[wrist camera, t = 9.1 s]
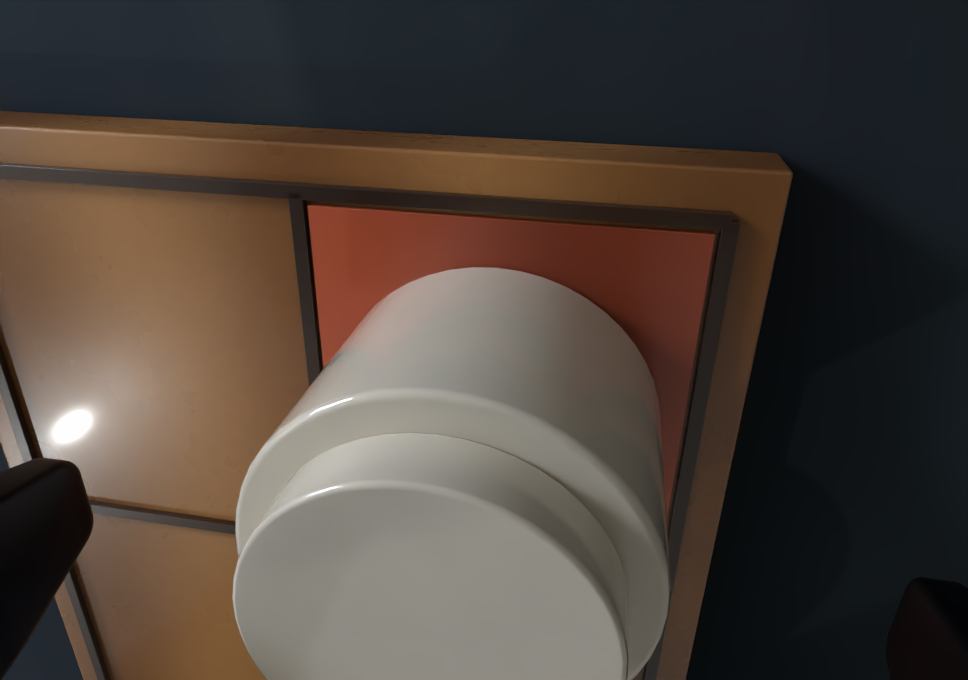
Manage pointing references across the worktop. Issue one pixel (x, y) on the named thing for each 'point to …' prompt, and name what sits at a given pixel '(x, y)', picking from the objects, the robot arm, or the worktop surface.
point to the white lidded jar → (462, 496)
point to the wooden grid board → (329, 326)
